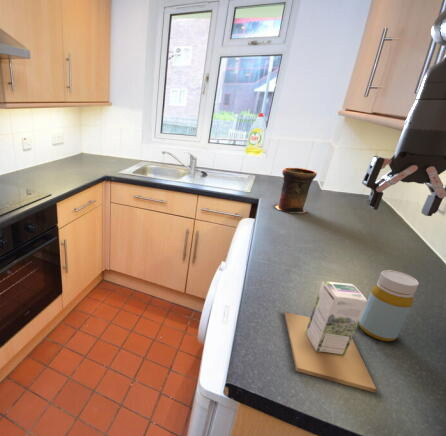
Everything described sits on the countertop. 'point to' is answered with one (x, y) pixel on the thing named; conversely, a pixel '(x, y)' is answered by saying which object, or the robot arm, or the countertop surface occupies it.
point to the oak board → (326, 358)
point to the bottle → (388, 305)
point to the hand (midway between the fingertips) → (399, 211)
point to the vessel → (295, 189)
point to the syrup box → (335, 317)
